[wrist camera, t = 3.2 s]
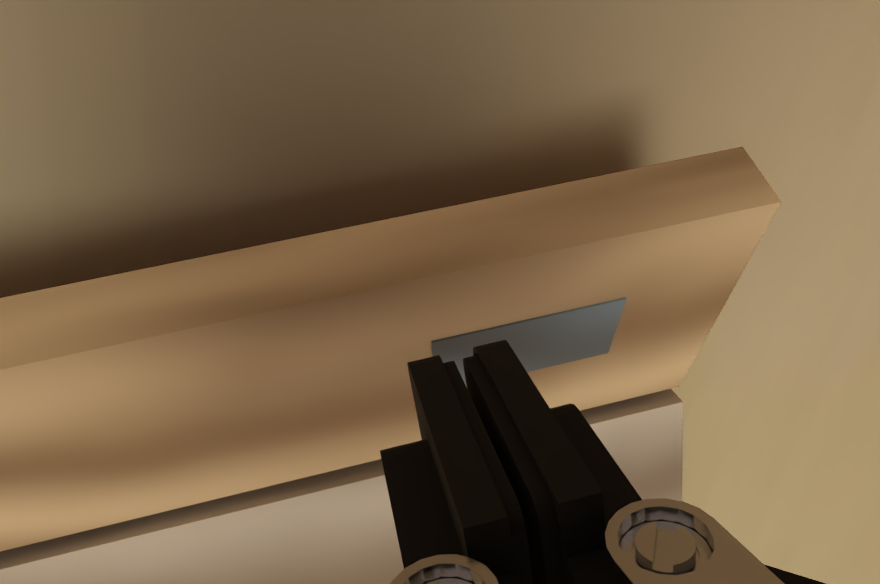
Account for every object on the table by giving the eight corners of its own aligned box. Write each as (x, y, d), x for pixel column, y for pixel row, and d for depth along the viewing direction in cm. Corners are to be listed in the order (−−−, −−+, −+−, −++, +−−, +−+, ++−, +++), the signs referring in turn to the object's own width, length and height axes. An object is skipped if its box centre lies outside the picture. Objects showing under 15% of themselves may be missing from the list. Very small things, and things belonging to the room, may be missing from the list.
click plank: (-548, 409, 12) (-603, 501, 11) (742, 146, 15) (782, 203, 14) (-191, 539, 19) (-208, 603, 18) (656, 340, 21) (679, 388, 21)
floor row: (-182, 552, 19) (-220, 601, 17) (656, 354, 22) (683, 382, 20) (-65, 714, 22) (-90, 767, 20) (658, 522, 25) (681, 557, 23)
